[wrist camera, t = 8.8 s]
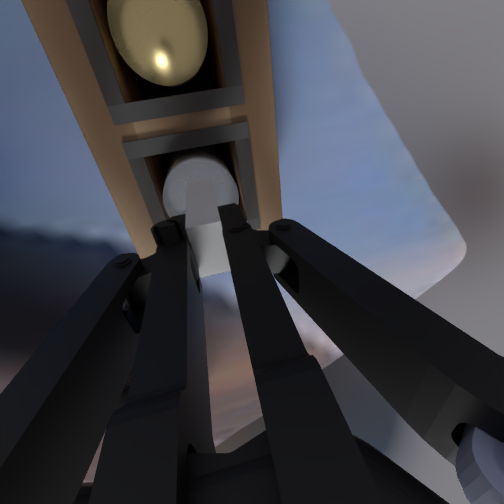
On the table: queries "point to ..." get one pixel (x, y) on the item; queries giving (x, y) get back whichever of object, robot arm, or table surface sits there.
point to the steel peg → (197, 167)
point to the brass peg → (160, 38)
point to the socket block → (168, 108)
